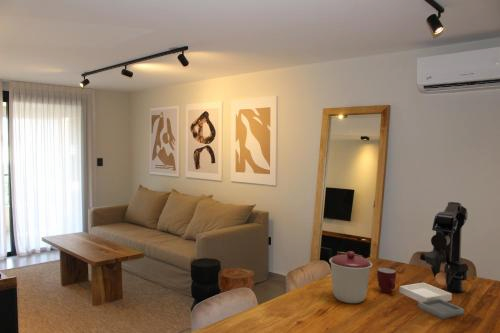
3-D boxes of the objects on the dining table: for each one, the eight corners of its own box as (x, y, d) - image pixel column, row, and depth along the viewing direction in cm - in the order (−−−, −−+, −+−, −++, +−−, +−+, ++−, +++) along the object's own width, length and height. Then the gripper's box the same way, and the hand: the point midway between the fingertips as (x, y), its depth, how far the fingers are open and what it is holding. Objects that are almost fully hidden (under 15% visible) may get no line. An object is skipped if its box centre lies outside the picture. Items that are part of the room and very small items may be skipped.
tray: (438, 303, 167) (438, 298, 167) (463, 314, 156) (464, 309, 156) (418, 307, 162) (418, 302, 162) (442, 319, 151) (443, 313, 151)
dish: (423, 288, 185) (423, 282, 185) (451, 300, 171) (451, 293, 171) (399, 292, 179) (399, 286, 179) (426, 305, 165) (427, 298, 165)
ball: (440, 281, 162) (441, 270, 162) (451, 285, 158) (451, 273, 157) (432, 283, 160) (432, 271, 160) (442, 287, 156) (443, 275, 155)
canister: (377, 299, 170) (380, 251, 169) (358, 311, 156) (360, 259, 155) (341, 288, 182) (342, 244, 181) (319, 298, 169) (321, 250, 168)
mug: (402, 296, 175) (403, 274, 174) (387, 297, 172) (388, 275, 172) (387, 287, 185) (388, 267, 184) (372, 289, 182) (373, 268, 182)
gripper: (411, 240, 163) (409, 277, 164) (450, 251, 146) (448, 292, 147) (430, 238, 168) (428, 274, 169) (470, 249, 151) (468, 289, 152)
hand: (441, 282), depth 159 cm, fingers closed on ball, 5 cm apart
